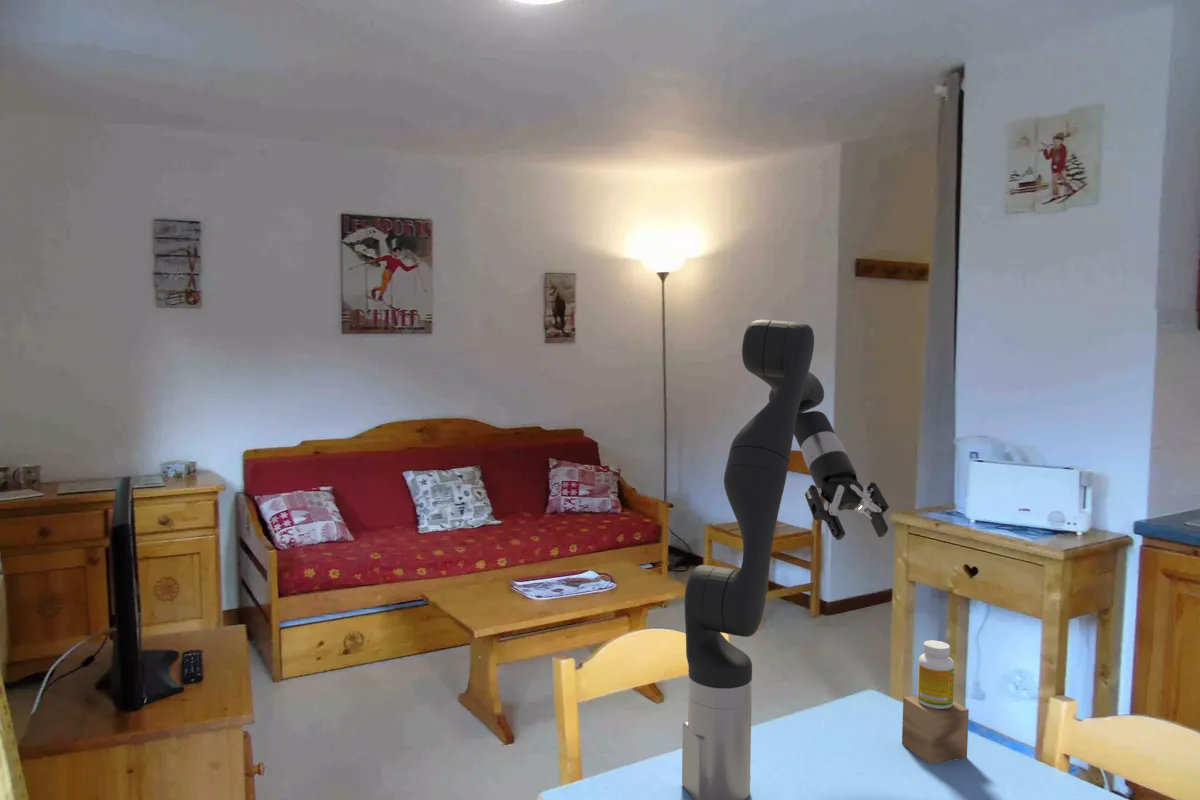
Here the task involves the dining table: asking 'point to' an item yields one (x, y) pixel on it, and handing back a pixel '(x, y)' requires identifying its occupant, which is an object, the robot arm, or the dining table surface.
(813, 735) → the dining table surface
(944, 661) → the supplement bottle
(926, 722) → the walnut block
